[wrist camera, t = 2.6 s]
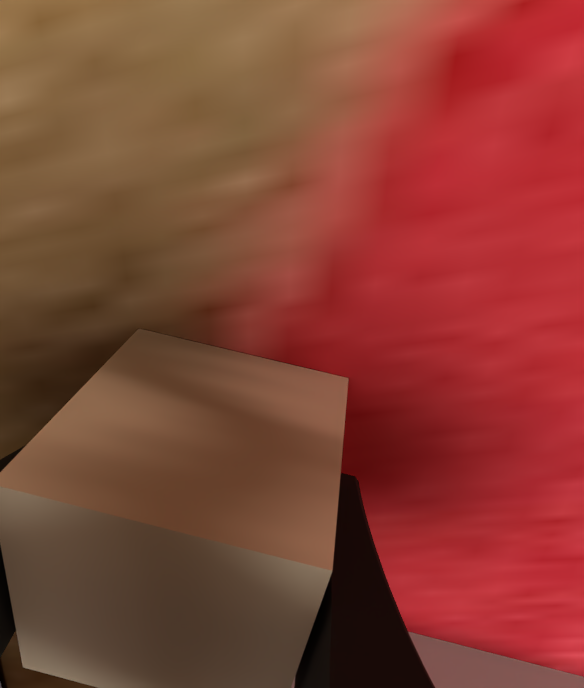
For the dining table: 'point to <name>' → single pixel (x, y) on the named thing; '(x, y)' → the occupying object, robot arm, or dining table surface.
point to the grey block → (484, 668)
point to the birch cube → (176, 520)
